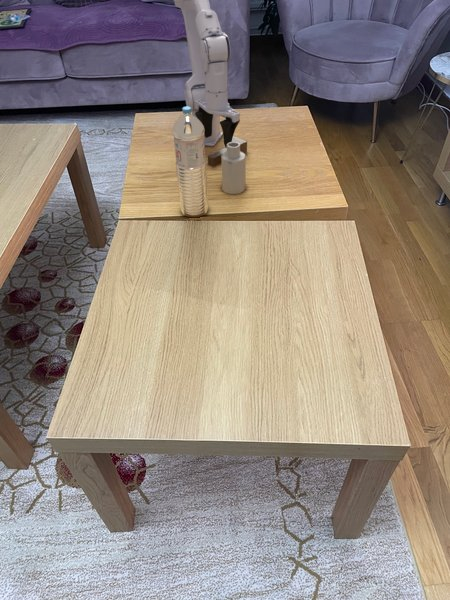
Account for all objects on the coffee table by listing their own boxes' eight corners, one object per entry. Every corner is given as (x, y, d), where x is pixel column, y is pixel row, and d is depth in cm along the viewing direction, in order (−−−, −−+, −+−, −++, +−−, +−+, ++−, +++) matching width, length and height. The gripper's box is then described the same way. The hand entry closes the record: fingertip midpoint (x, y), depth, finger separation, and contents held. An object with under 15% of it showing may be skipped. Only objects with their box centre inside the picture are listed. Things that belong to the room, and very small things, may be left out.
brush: (203, 162, 128) (202, 149, 126) (232, 147, 135) (232, 134, 132) (218, 169, 125) (217, 155, 123) (247, 153, 132) (248, 140, 129)
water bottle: (204, 220, 108) (198, 115, 90) (177, 217, 109) (166, 113, 91) (211, 204, 112) (206, 102, 95) (184, 202, 113) (175, 100, 96)
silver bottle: (226, 181, 121) (225, 137, 112) (247, 184, 119) (248, 140, 111) (219, 192, 117) (217, 148, 108) (241, 195, 115) (241, 151, 107)
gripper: (248, 91, 113) (247, 143, 123) (207, 78, 120) (209, 128, 130) (228, 99, 109) (229, 152, 119) (188, 85, 117) (191, 136, 126)
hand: (217, 140), depth 124 cm, fingers open, 7 cm apart
